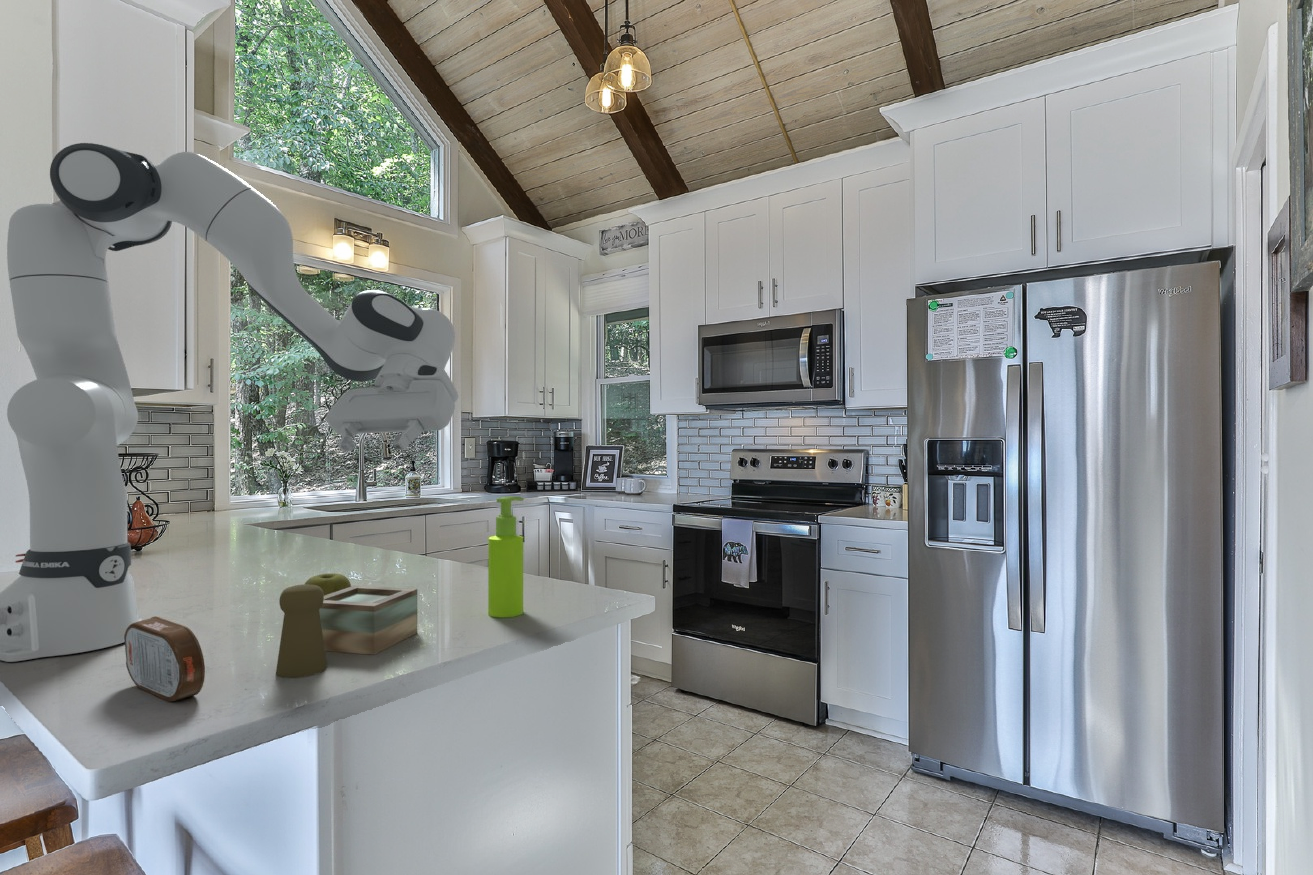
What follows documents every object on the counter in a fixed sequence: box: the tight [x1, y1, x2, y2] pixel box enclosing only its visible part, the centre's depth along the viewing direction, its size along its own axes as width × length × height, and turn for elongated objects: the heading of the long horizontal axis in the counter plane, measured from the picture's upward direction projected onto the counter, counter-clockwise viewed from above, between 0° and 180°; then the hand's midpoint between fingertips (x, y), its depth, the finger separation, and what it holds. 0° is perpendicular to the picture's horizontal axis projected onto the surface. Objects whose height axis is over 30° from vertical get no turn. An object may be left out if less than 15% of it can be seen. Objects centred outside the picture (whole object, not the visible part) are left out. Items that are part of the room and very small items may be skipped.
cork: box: [275, 583, 328, 679], centre depth 91 cm, size 6×6×11 cm
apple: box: [304, 573, 352, 596], centre depth 116 cm, size 8×8×7 cm
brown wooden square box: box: [319, 585, 418, 655], centre depth 103 cm, size 11×11×7 cm
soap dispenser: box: [487, 496, 525, 619], centre depth 120 cm, size 6×7×20 cm
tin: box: [124, 616, 206, 703], centre depth 83 cm, size 15×3×8 cm, turn 58°
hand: (371, 448), depth 105 cm, fingers open, 8 cm apart
